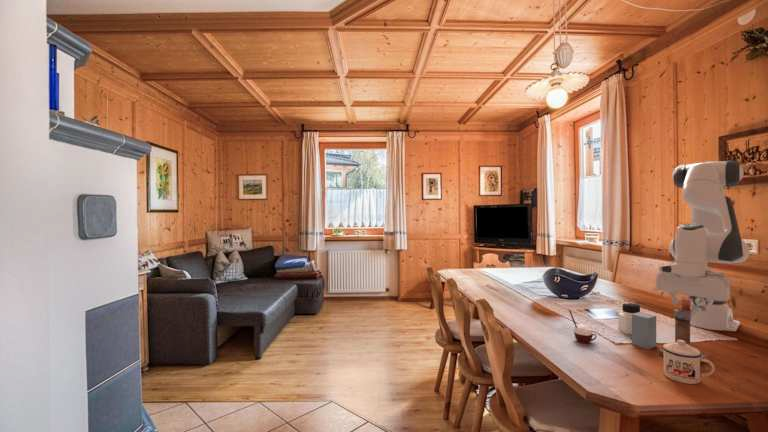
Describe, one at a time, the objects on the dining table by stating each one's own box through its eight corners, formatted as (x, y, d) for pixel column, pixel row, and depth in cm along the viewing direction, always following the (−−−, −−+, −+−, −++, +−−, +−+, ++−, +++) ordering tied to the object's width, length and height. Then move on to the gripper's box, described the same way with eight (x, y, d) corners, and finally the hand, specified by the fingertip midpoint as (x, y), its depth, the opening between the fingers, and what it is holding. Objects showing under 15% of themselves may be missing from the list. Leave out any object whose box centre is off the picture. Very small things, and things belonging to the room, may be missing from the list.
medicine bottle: (645, 335, 141) (645, 306, 141) (625, 334, 143) (625, 305, 142) (636, 329, 148) (636, 301, 148) (617, 328, 150) (617, 301, 149)
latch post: (672, 349, 128) (672, 313, 127) (707, 359, 119) (707, 321, 119) (658, 354, 123) (658, 318, 123) (693, 366, 114) (693, 326, 114)
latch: (701, 311, 129) (701, 295, 128) (689, 322, 118) (689, 304, 117) (686, 308, 132) (686, 293, 132) (672, 318, 121) (672, 302, 121)
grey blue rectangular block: (639, 341, 135) (639, 311, 135) (656, 346, 130) (656, 315, 130) (631, 344, 133) (631, 314, 133) (648, 349, 128) (648, 318, 128)
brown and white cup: (597, 342, 136) (598, 312, 136) (593, 347, 131) (594, 316, 131) (570, 336, 142) (572, 307, 142) (566, 339, 138) (567, 310, 137)
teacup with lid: (661, 378, 107) (661, 341, 107) (663, 367, 114) (663, 333, 113) (714, 392, 99) (715, 351, 98) (714, 379, 105) (714, 342, 105)
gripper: (734, 273, 115) (733, 314, 116) (662, 264, 133) (662, 299, 134) (726, 275, 112) (725, 317, 113) (653, 266, 130) (653, 302, 131)
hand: (690, 307), depth 123 cm, fingers open, 7 cm apart
